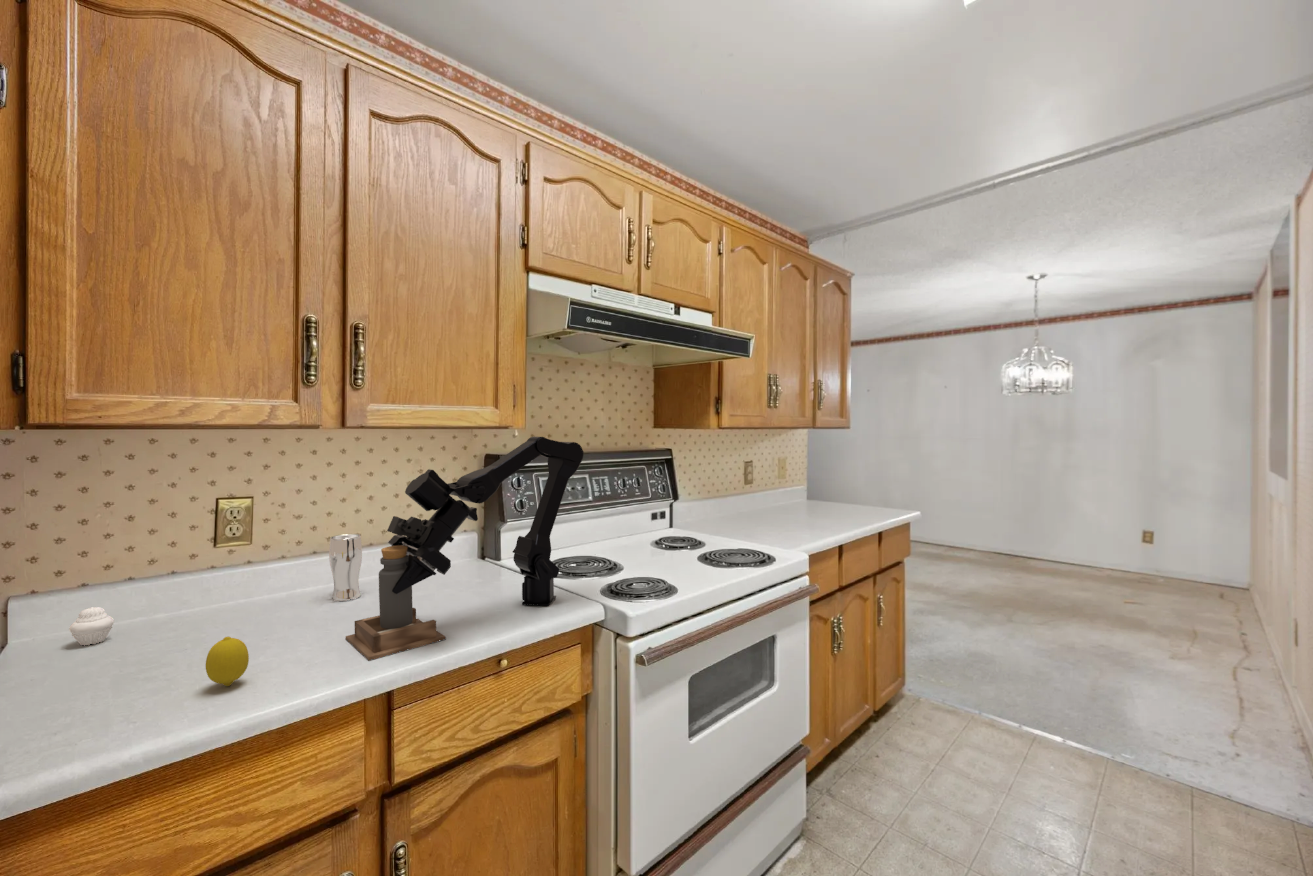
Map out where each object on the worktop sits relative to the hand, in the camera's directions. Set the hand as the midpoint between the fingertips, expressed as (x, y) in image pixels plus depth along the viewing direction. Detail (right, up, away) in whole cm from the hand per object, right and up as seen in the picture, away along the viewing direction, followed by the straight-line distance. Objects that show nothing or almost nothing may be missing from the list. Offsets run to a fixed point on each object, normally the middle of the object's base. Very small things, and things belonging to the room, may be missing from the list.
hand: (388, 589), depth 108 cm
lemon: (-17, -11, -18) cm, 27 cm away
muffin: (-58, -11, 0) cm, 59 cm away
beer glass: (-24, -10, +28) cm, 38 cm away
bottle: (+1, -7, +1) cm, 7 cm away
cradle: (+1, -10, +1) cm, 10 cm away
